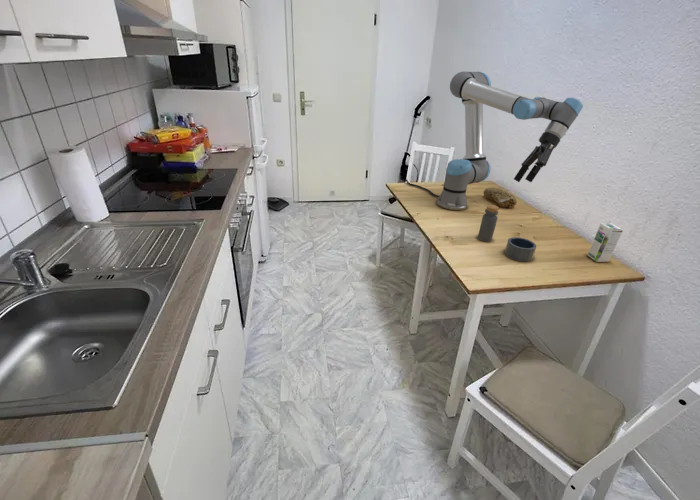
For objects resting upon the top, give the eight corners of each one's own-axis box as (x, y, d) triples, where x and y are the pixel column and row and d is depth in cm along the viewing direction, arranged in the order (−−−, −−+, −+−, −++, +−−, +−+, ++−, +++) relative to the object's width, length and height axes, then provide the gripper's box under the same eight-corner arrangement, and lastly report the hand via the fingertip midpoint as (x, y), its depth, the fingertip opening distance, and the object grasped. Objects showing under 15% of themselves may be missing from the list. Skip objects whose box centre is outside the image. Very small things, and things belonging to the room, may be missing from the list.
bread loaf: (517, 210, 192) (504, 191, 207) (519, 198, 187) (506, 179, 202) (492, 214, 193) (480, 194, 208) (494, 201, 188) (482, 182, 203)
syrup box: (586, 255, 148) (599, 222, 141) (599, 255, 148) (613, 222, 142) (595, 262, 143) (610, 229, 136) (609, 262, 143) (624, 229, 137)
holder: (500, 254, 144) (504, 242, 142) (510, 246, 151) (513, 234, 149) (527, 264, 138) (531, 252, 136) (535, 255, 145) (540, 243, 143)
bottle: (492, 242, 154) (501, 210, 147) (478, 240, 155) (486, 208, 148) (490, 236, 159) (499, 205, 152) (476, 235, 160) (484, 203, 153)
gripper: (575, 136, 138) (541, 185, 143) (546, 143, 162) (518, 184, 167) (558, 126, 138) (525, 175, 142) (532, 134, 162) (505, 176, 167)
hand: (521, 180), depth 155 cm, fingers open, 13 cm apart
